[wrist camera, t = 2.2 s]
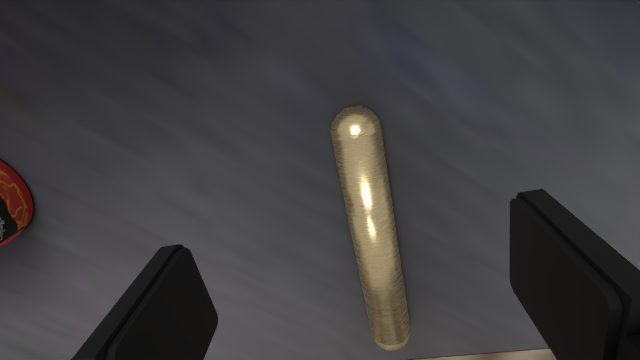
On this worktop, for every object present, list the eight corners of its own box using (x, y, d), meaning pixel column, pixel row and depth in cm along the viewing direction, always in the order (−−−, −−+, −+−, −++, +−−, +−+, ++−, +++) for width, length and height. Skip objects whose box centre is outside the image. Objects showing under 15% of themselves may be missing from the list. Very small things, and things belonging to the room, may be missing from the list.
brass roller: (375, 96, 22) (379, 107, 19) (409, 326, 29) (415, 358, 26) (327, 105, 22) (324, 117, 19) (372, 330, 30) (375, 361, 27)
